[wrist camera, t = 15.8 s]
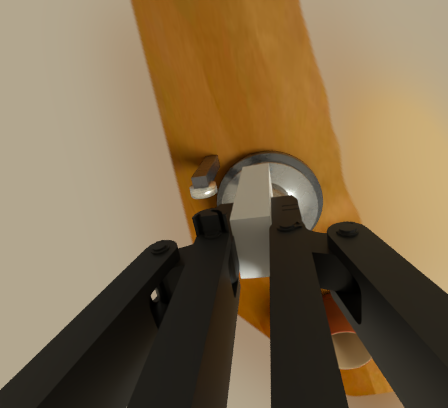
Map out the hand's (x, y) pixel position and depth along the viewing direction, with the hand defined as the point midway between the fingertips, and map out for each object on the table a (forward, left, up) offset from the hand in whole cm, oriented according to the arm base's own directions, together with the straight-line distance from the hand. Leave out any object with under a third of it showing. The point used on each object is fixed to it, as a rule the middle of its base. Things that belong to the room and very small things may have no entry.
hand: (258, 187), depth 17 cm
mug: (+38, +7, -30) cm, 49 cm away
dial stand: (+6, -9, -29) cm, 31 cm away
